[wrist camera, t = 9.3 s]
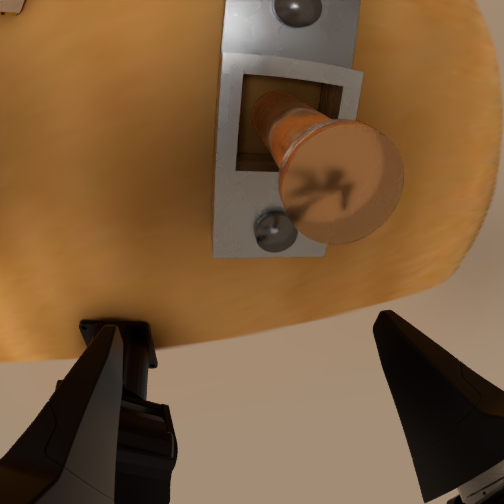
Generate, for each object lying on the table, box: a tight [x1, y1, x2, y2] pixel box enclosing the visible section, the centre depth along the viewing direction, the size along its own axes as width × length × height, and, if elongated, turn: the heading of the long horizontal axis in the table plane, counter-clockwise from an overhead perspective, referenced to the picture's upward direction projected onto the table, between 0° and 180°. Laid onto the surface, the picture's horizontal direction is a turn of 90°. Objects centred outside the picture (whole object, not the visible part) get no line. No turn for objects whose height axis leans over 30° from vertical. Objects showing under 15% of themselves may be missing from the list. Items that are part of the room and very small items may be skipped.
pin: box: [252, 92, 404, 244], centre depth 13 cm, size 4×4×10 cm
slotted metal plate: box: [211, 0, 364, 258], centre depth 15 cm, size 17×7×4 cm, turn 175°
